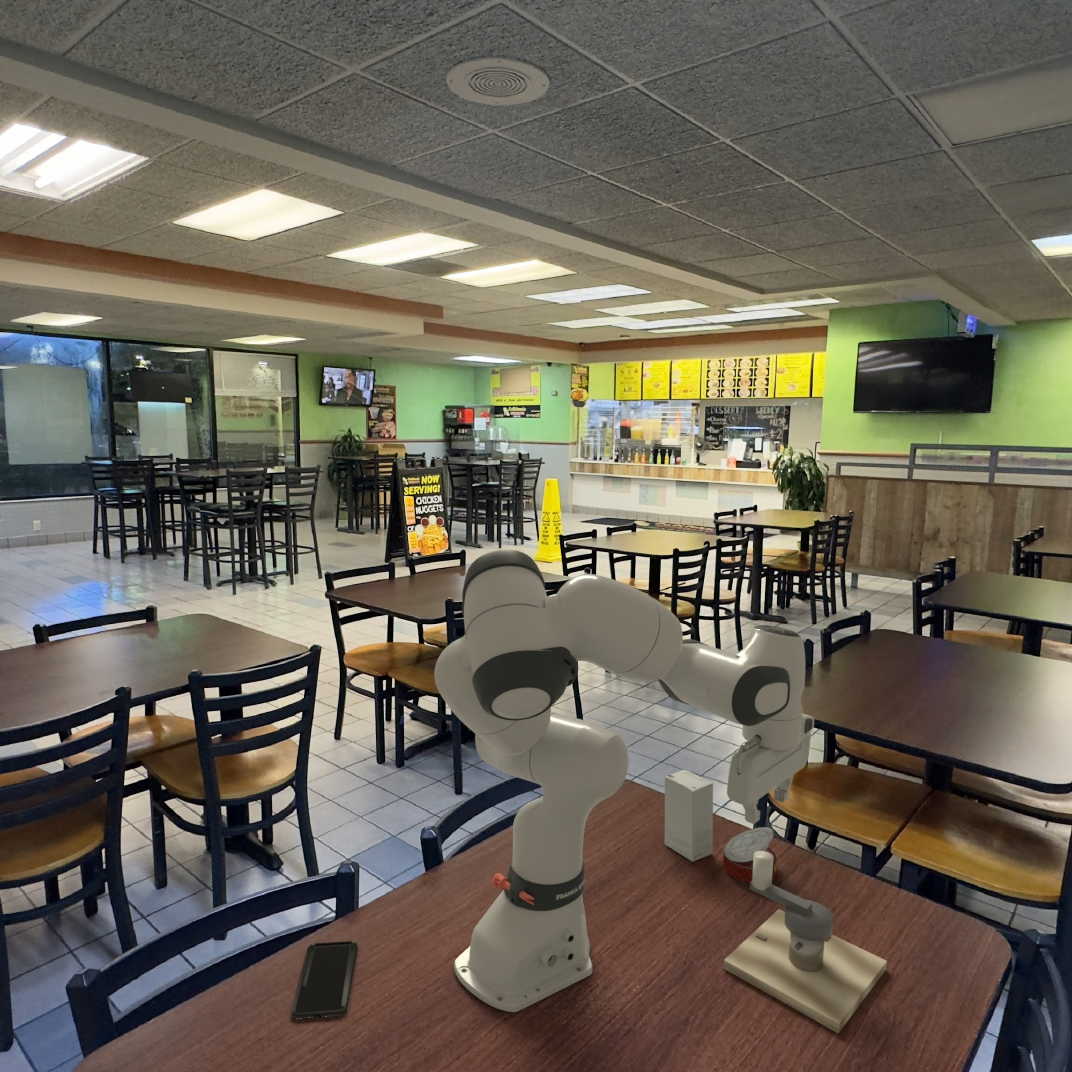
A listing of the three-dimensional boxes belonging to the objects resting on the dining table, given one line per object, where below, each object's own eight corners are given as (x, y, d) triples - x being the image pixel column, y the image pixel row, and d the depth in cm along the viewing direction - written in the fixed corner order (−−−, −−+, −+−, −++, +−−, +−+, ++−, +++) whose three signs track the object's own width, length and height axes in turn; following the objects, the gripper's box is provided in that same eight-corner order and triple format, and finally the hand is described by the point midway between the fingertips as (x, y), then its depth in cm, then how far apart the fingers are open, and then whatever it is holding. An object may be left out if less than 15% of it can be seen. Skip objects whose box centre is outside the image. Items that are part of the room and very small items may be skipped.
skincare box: (713, 854, 150) (716, 783, 148) (691, 863, 147) (694, 791, 145) (682, 835, 157) (686, 767, 155) (661, 843, 154) (664, 774, 152)
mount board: (838, 1033, 106) (841, 988, 105) (723, 968, 118) (726, 927, 117) (886, 969, 119) (889, 928, 118) (778, 917, 131) (780, 879, 130)
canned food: (759, 907, 142) (752, 875, 137) (715, 877, 149) (707, 846, 144) (793, 863, 147) (787, 830, 142) (748, 836, 154) (741, 804, 149)
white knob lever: (820, 947, 113) (824, 896, 112) (741, 908, 122) (744, 860, 121) (840, 926, 118) (843, 877, 117) (762, 890, 127) (765, 844, 125)
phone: (358, 940, 122) (346, 1010, 108) (358, 947, 123) (347, 1018, 108) (307, 943, 121) (289, 1014, 107) (308, 950, 122) (289, 1022, 107)
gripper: (757, 753, 109) (752, 843, 111) (819, 715, 124) (813, 795, 126) (718, 740, 114) (714, 827, 116) (782, 705, 128) (778, 782, 130)
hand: (766, 810), depth 121 cm, fingers open, 8 cm apart
